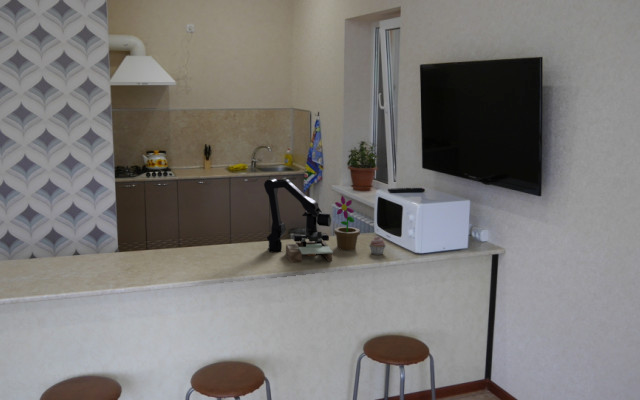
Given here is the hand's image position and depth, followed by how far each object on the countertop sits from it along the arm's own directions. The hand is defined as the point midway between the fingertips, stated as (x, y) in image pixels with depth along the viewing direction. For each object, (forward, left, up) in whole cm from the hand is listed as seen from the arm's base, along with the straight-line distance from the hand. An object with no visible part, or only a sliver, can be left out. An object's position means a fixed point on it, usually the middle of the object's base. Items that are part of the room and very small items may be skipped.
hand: (310, 252), depth 314 cm
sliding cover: (0, -12, +5) cm, 13 cm away
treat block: (0, 0, -1) cm, 1 cm away
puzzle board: (-2, -3, -1) cm, 4 cm away
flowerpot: (+23, +11, -1) cm, 26 cm away
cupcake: (+37, -2, -1) cm, 37 cm away
